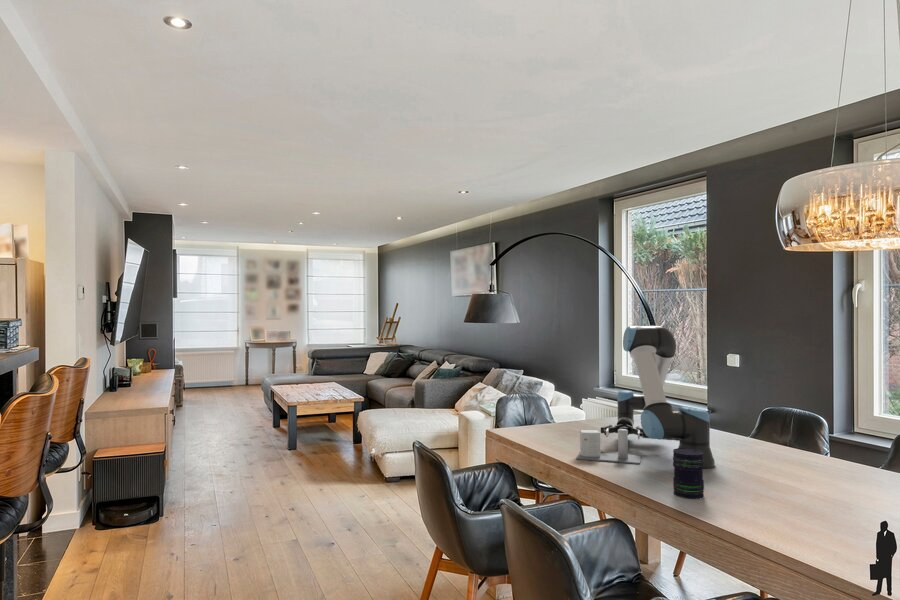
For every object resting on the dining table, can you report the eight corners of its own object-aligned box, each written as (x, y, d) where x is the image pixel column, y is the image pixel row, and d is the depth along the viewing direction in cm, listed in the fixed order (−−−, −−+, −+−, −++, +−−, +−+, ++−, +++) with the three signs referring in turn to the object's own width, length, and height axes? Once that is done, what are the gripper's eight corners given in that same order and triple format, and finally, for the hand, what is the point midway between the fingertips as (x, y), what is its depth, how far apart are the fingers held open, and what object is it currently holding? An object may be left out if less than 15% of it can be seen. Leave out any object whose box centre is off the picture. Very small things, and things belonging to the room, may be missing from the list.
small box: (598, 454, 255) (598, 430, 255) (600, 457, 249) (600, 432, 249) (580, 453, 255) (579, 429, 256) (581, 456, 250) (581, 432, 250)
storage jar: (685, 500, 194) (685, 455, 194) (667, 491, 203) (666, 449, 203) (710, 497, 196) (710, 453, 197) (690, 489, 206) (690, 447, 206)
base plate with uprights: (640, 457, 251) (640, 428, 251) (639, 464, 240) (639, 433, 240) (579, 452, 259) (579, 424, 260) (576, 459, 248) (576, 429, 248)
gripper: (652, 435, 273) (652, 445, 253) (598, 432, 281) (593, 441, 261) (652, 419, 273) (652, 428, 253) (597, 416, 281) (593, 424, 261)
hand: (622, 435), depth 257 cm, fingers open, 13 cm apart
